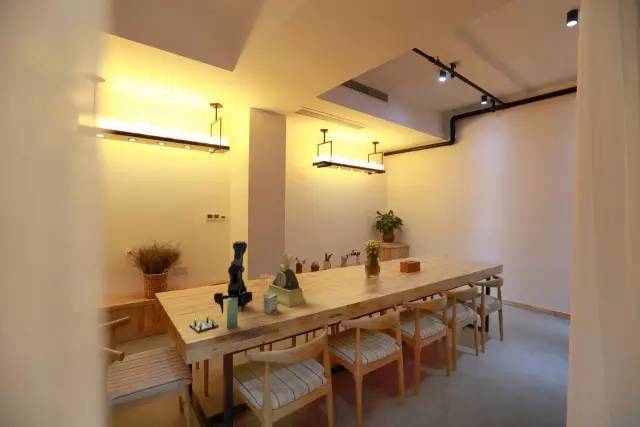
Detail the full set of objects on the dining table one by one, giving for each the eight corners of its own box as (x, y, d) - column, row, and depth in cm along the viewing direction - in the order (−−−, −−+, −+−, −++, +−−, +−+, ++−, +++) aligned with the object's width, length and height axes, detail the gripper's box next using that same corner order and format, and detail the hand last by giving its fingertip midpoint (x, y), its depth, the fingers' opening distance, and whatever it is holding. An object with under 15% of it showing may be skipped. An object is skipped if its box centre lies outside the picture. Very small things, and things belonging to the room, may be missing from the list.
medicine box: (270, 313, 157) (270, 298, 157) (263, 312, 159) (263, 297, 159) (277, 309, 165) (277, 294, 165) (270, 308, 166) (270, 293, 166)
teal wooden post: (234, 323, 143) (234, 296, 142) (239, 326, 139) (239, 298, 139) (225, 326, 139) (225, 298, 139) (230, 329, 135) (230, 300, 135)
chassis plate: (209, 320, 146) (209, 314, 146) (218, 326, 139) (218, 319, 139) (189, 326, 138) (189, 319, 138) (198, 332, 132) (198, 325, 131)
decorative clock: (263, 297, 188) (263, 252, 187) (278, 293, 197) (279, 251, 197) (289, 307, 168) (289, 258, 168) (305, 303, 177) (305, 256, 177)
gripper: (214, 277, 141) (210, 306, 130) (252, 276, 145) (251, 304, 134) (217, 288, 149) (213, 316, 138) (253, 287, 152) (251, 314, 142)
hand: (232, 312), depth 138 cm, fingers open, 9 cm apart
